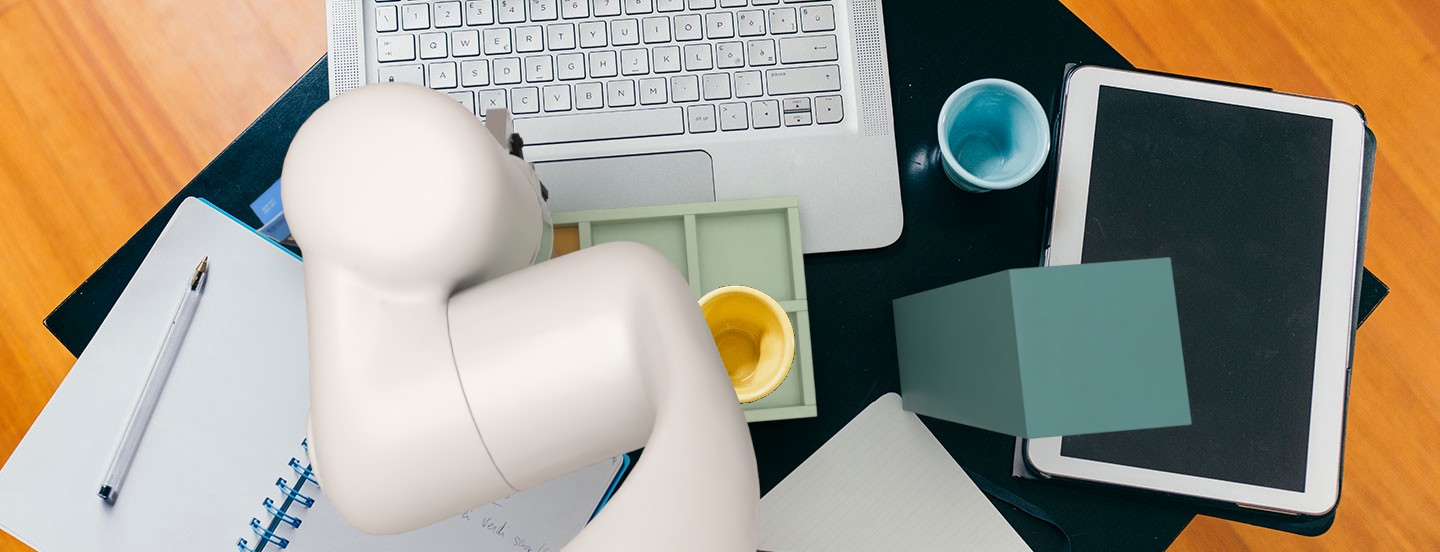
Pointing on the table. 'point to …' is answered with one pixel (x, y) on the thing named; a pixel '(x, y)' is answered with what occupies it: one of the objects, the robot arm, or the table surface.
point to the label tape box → (273, 215)
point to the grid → (721, 266)
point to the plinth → (1047, 350)
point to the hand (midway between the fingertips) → (529, 269)
